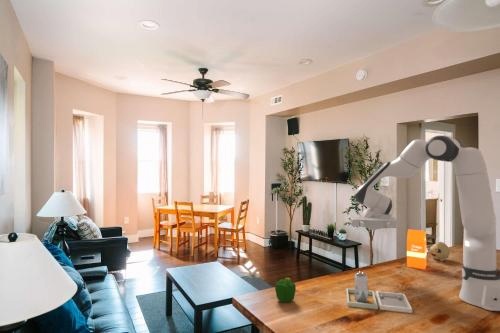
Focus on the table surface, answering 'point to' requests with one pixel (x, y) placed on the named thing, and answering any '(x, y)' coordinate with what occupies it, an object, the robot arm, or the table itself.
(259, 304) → the table surface
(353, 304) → the bin
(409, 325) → the table surface
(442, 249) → the toy pig
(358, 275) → the chrome tube with bumps
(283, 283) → the bell pepper
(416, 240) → the orange juice
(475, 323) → the table surface
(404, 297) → the bin
